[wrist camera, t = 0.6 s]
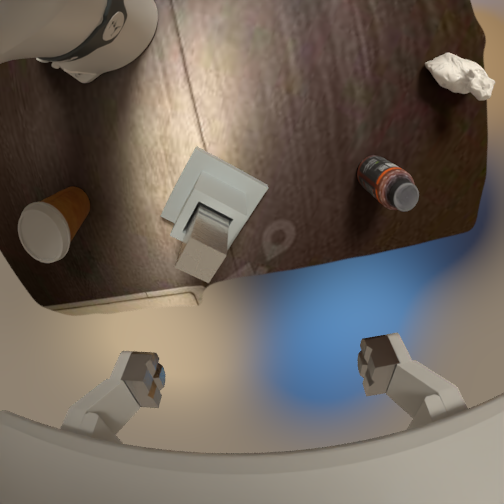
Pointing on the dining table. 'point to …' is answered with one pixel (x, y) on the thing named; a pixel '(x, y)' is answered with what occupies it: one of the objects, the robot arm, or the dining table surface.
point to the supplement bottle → (388, 183)
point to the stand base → (213, 193)
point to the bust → (461, 76)
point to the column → (204, 243)
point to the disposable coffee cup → (53, 224)
